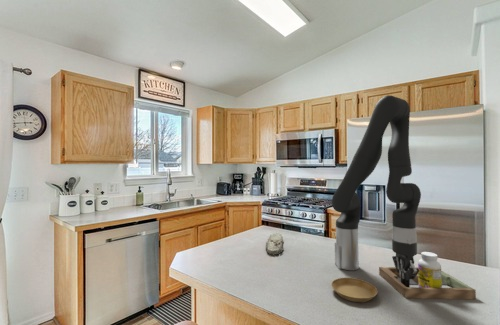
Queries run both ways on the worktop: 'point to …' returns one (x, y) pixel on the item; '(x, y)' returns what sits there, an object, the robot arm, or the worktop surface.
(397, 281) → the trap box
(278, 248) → the elongated rock
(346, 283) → the plant saucer
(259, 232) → the worktop surface
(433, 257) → the supplement bottle
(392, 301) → the worktop surface
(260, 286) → the worktop surface
